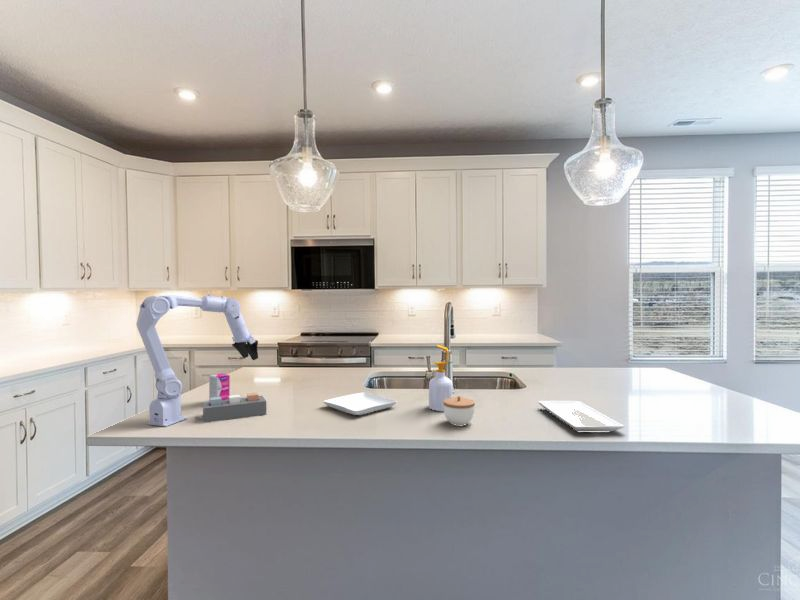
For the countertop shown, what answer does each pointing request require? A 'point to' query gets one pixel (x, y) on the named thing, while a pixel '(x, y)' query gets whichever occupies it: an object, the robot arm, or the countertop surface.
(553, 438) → the countertop surface
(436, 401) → the soap bottle
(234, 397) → the white key
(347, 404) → the salad plate
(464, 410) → the lidded jar
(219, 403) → the slate key
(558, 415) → the tray
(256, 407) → the grey socket block
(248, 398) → the terracotta key
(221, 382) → the supplement box
